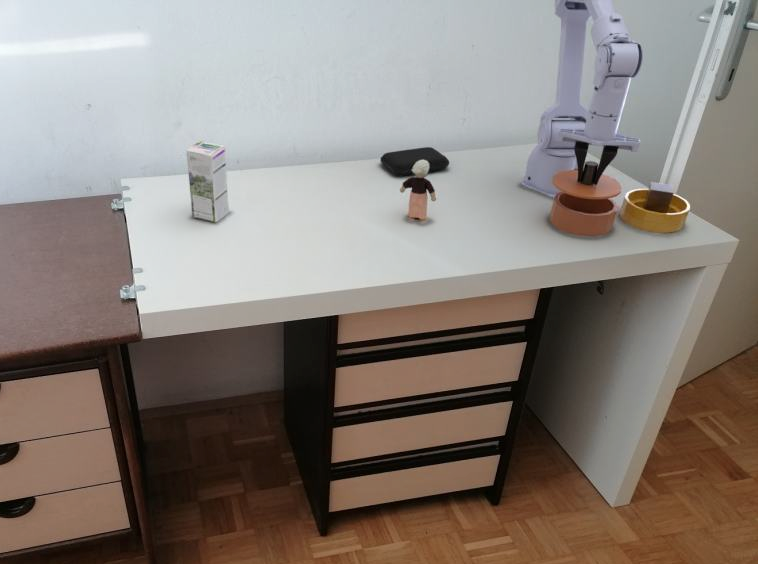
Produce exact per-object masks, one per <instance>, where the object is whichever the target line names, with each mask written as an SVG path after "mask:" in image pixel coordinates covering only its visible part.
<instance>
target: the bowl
mask: <svg viewBox="0 0 758 564" xmlns="http://www.w3.org/2000/svg"><path fill="white" fill-rule="evenodd" d="M648 189H649V188H636V189H631V190H628V191H626V193H625V195H624V197H623V201H622V204H621V206H620V207H621V208H620V211H619V217H620V218H621V220H622V221H623V222H624V223H626V224H627V225H629V226H631V227H633V228H635V229H639V230H641V231H647V232H651V233H661V234H671V233H676V232H679V231H680V230H683V229H684V226H685V224H686V221H687V218H688V215H689V213H690V209H691V204H690V203H689V201H688V200H687V199H686V198H683V197H681V196H680V195H679V194H675V193H673V196H672V199H671V202H670V205H669V208H668V211H667V213H658V212H653V211H648V210H645V209H643V205H644V201H645V198H646V195H647V192H648Z"/></svg>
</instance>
